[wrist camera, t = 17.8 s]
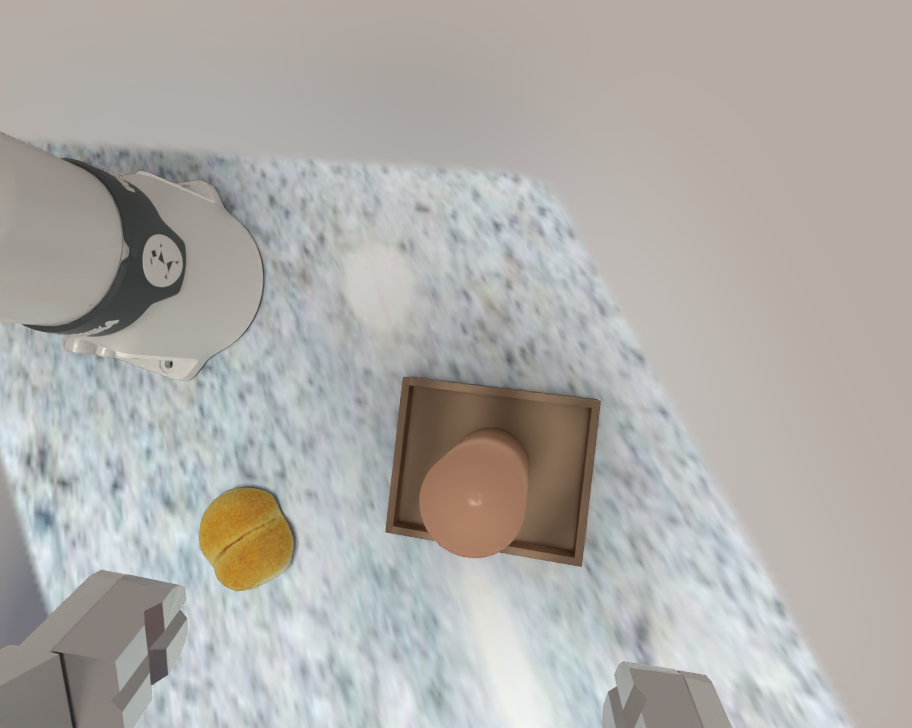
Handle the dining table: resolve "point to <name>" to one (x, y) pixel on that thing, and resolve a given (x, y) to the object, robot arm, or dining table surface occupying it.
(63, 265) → the robot arm
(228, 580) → the bread roll
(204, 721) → the dining table surface
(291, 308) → the dining table surface
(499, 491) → the peach cylinder
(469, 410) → the tray
